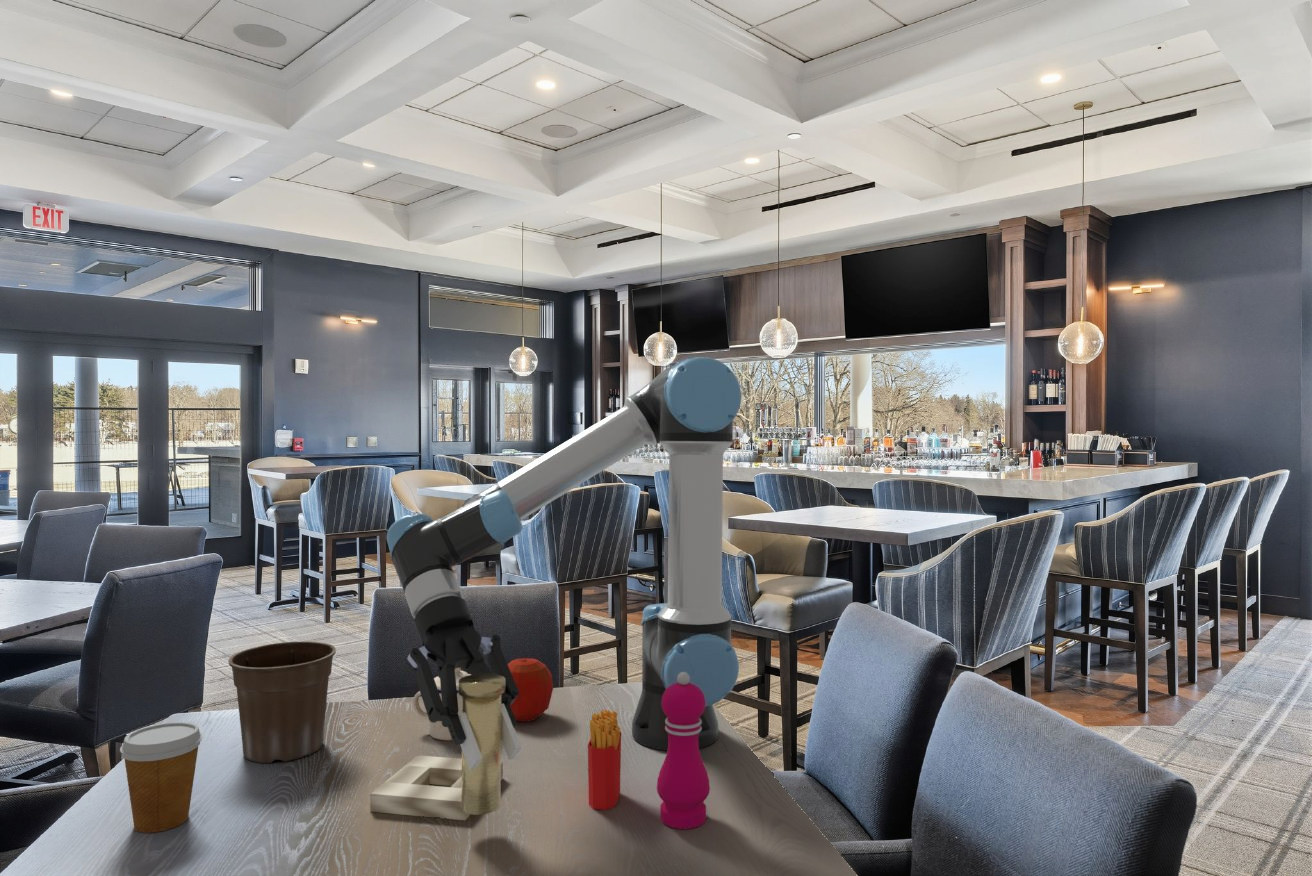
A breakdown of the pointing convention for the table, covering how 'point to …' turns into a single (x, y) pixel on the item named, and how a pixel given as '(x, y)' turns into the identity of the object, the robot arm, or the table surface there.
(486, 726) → the gold stepped cylinder
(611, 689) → the table surface
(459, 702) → the teacup with lid
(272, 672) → the plant pot
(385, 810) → the socket block
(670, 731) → the pepper mill
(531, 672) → the apple
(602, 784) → the french fries
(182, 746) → the disposable coffee cup
